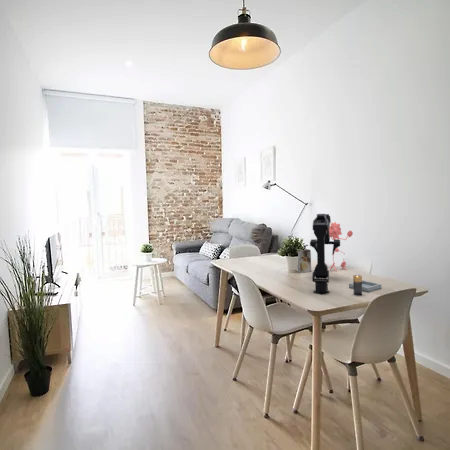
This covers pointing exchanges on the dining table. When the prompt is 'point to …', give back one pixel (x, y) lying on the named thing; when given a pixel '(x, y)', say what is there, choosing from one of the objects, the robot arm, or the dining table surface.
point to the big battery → (357, 284)
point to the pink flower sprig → (335, 232)
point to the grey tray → (368, 286)
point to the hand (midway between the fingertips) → (325, 254)
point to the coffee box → (304, 261)
